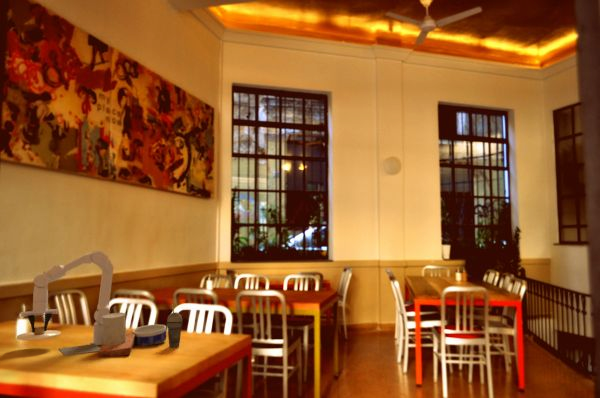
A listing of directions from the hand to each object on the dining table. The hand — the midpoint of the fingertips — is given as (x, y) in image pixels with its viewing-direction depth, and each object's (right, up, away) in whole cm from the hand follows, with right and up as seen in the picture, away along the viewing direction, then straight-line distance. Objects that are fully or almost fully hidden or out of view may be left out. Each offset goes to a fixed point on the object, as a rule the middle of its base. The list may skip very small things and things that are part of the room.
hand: (39, 331), depth 203 cm
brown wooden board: (+35, -8, +2) cm, 36 cm away
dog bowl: (+45, -9, +15) cm, 48 cm away
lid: (0, -2, -1) cm, 2 cm away
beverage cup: (+59, -9, +7) cm, 60 cm away
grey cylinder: (+34, -5, 0) cm, 35 cm away
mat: (+19, -9, -2) cm, 21 cm away
